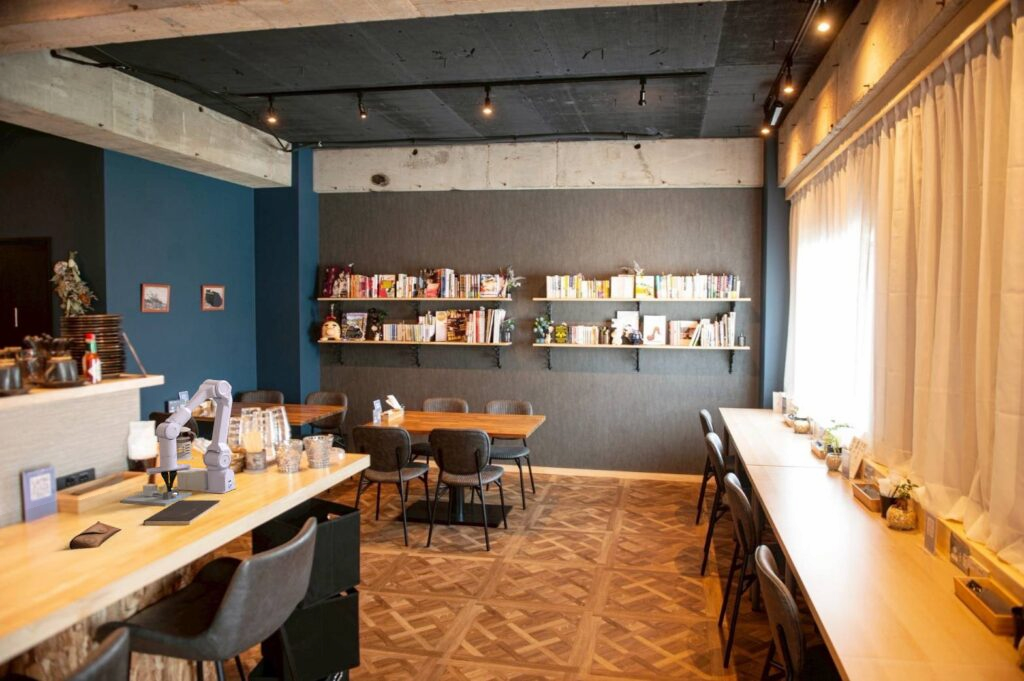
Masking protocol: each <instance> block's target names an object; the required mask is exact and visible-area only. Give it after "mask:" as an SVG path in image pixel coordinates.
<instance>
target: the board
mask: <svg viewBox="0 0 1024 681" xmlns="http://www.w3.org/2000/svg"><path fill="white" fill-rule="evenodd" d="M158 492H159V490H158ZM192 494H193V493H192V492H184V491H183V492H181V491H179V496H177V497H172V496H171V499H169V500H167V499H163V496H158V495H156V496H153V497H148V496H143V491H141V492H138V493H135V494H133V495H129V496H127V497H125V498H122V499H119V503H120V504H121V503H123V504H133V505H150V506H162V507H163V506H165V507H166V506H167V507H168V505H169V506H170V505H172V504H174V503H175V502H177V501H179V500H183V499H187V498H189V497H191V496H192Z"/></svg>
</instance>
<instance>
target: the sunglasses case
mask: <svg viewBox="0 0 1024 681" xmlns="http://www.w3.org/2000/svg"><path fill="white" fill-rule="evenodd" d="M121 530H122V528H120V527H119V528H118V527H116V526H112V525H109V524H106V523H102V522H100V521H99V520H98V521H97V522H95V523H94V524H92V525H91V526H89V527H87V528H86V529H85V530H83V531H82V532H81V533H79V534H77V535H75V536H74V537H73V538H72V539H71V540H70V541H69V544H68V545H69V546H68V547H69V548H70V550H79V549H80V550H83V549H96V548H100V546H101V545H102V544H103V543H105V542H106V541H108V539H110V538H112V536H114V535H116V534H117V533H119V532H120V531H121Z"/></svg>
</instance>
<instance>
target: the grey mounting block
mask: <svg viewBox="0 0 1024 681" xmlns="http://www.w3.org/2000/svg"><path fill="white" fill-rule="evenodd" d="M179 492H180V490H179V488H177V487H173V490H172V492H165V493H163V499H167V500H169V499H171V493H178V496H179Z"/></svg>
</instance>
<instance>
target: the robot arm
mask: <svg viewBox="0 0 1024 681" xmlns="http://www.w3.org/2000/svg"><path fill="white" fill-rule="evenodd" d="M202 382H203V383H202V384H200V385H199V388H198V390H197V391H196V392H195V393H194V395H193V396H192V397H191V398H190V399H189V401H188V402H186V404H185V405H184V406H183V407H182V406H179V407H180V408H179V407H178V408H175V409H174V410H173V413H172V414H171V415H170V416H169V417H168V418H166V419H165V421H164V422H161V423H160V424H158V426H157V427H156V429H155V431H154V434H155V436H156V437H157V440H158V444H159V445H158V446H159V448H158V449H159V466H156V467H151V468H146V475H147V476H150V475H155V474H160V476H161V477H162V479H163V481H164V485H165V484H166V486H167V492H172V486H173V487H174V482H175V480H176V479H177V472H179V471H182V470H190V468H191V464H190V463H187V464H178V461H177V447H176V438H178V436H180V433H181V432H180V429H181V428H182V427H184V426H185V425H186V424H187V422H188V421H189V420H190V419H191V418H192V413H193V411H195V410H196V409H197V408H198V407H199V406H201V405H202V403H203V402H205V400H207V399H212V400H213V401H214V402H215V404H216V409H215V416H214V423H213V430H212V437H211V443H210V444H209V445H208V446H207V447H206V448H205V449H206V450H205V453H204V455H203V457H202V462H203V464H204V465H205V466H206V469H207V470H208V489H206V490H204V491H202V492H203V493H212V494H213V493H214V494H215V493H216V494H225V493H228V492H230V491H232V490H235V489H237V486H235V485H236V484H235V472H234V470H233V469H232V468H229V466H230V464H231V461H232V457H231V449H230V448H229V446H228V445H227V442H228V441H227V440H228V435H229V427H230V419H231V412H232V407H233V406H232V405H233V397H232V388H233V387H232V385H231V384H230V383H229V382H228V381H227V380H215V379H211V378H210V379H208V378H207V379H206V380H204V381H202Z"/></svg>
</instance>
